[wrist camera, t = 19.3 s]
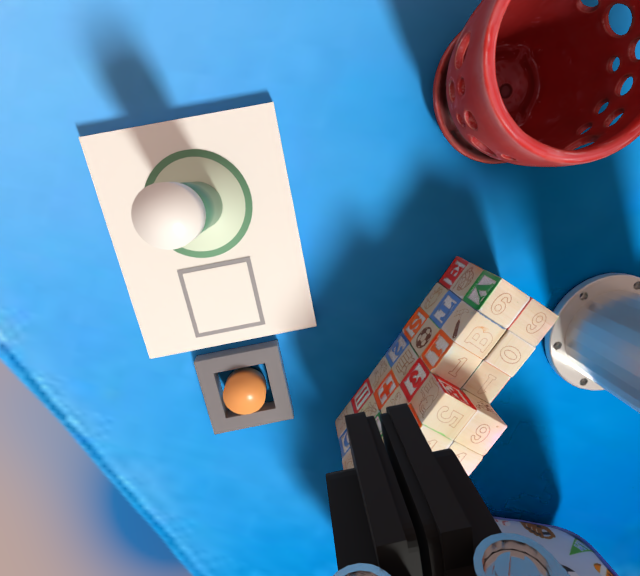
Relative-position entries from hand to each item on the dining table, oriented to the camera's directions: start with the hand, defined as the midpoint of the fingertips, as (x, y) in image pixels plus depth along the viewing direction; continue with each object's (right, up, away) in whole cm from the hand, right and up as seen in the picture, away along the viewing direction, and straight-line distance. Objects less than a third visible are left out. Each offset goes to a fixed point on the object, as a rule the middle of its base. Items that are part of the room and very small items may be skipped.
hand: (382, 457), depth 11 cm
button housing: (-9, -5, +31) cm, 33 cm away
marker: (-12, +12, +25) cm, 30 cm away
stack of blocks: (+8, -2, +32) cm, 33 cm away
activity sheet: (-12, +9, +27) cm, 31 cm away
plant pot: (+13, +22, +26) cm, 36 cm away
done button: (-9, -5, +31) cm, 32 cm away
